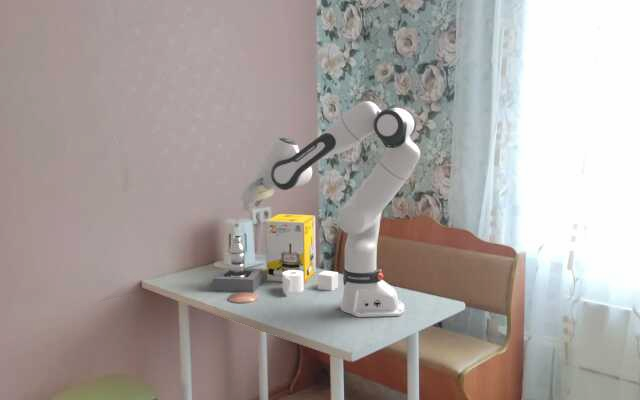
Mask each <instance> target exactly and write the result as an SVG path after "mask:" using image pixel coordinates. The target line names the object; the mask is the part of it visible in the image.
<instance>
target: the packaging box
mask: <svg viewBox="0 0 640 400" xmlns="http://www.w3.org/2000/svg"><path fill="white" fill-rule="evenodd" d="M265 249H266V250H265V252H266V254H265V255H266V257H265V258H266V281H268V282H282V273H283V272H284V271H288V270H299V271H302V272H303V282H304V284H305V283H306V282H308V281H309V279H310V278H312V276H314V274H316V272H317V268H316V267H317V266H316V263H317V262H316V259H317V257H316V252H317V251H316V215H311V214H293V213H292V214H289V213H278V214H276V215H275V216H273V217H270V218H269V219H267V220H265Z"/></svg>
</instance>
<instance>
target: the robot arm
mask: <svg viewBox="0 0 640 400" xmlns="http://www.w3.org/2000/svg"><path fill="white" fill-rule="evenodd" d="M416 121H417V120H416V119H415V117H414V114H412V112H410V111H408V110H407V109H403V108H400V107H390V108H389V107H388V108H385V109H383V110H381V109H380V107H379V106H377V104H376V103H374V102H372V101H368V100H365V101H361V102H360V103H358V104H357V105H355V106H353V107H351V108H350V109H348V110H347V111H346V112H345V113H343V114H342V115H340V117H339V118H337V119H336V120H335V121H333V122H332V124H331V125H329V126H328V128H326V129H325V130H324V131H323V132H322V133H321V134H320V135H319V136H318V137H317V138H315V139H314V140H312V142H310V143H309V144H308V145H306V146H305V147H304V148H302V149H301V150H300V149H299V145H298V144H297V142H295V141H294V140H291V139H290V138H286V137H285V138H284V137H279V138H277V139H276V140H275V141H274V142H273V144H272V145H271V146H270V148H269V149H268V151H267V153H266V156H265V159H264V161H263V162H261V164H260V166H259V167H258V169H257V171H256V172H255V174H254V176H255V180H251V182H249V183H248V184H247V186H246V188H245V189H244V190H243V192H242V194H241V195H240V200H242V201H243V205H242V207H241V209H242V210H243V211H244V212H246V211H248V210H249V208H250V205H251V203H254V204H253V205H254V207H256V208H259V207H260V206H261V205H262V203H263V202H264V201H265V200H266V199H268V198H271V197H273V196H274V194H275V193H276V191H277V190H278V189H279V190H283V191H287V190H290V189H294V188H295V187H297V188H298V187H300V186H305V185H306V184H308V183H309V182H310V181H311V180H312V178H313V173H314V172H313V165H315V164H316V163H317V162H319V161H321V160H322V159H324V158H326V157H328V156H332V155H335V154H338V153H339V154H340V153H344V152H346V151H347V152H348V150H350V149H353V148H355V147H356V146H357V145H359V144H360V143H362V142H363V141H364V140H366V139H367V138H368V137H369V136H371V135H372V134H376V136H377V137H378V139H379V140H380V141H381V142H382V144H383V145H384V146H385V147H386V151H385V153H384V154H383V156H382V157H381V158H380V160H379V161H378V163H377V164H376V165H375V167H374V168H373V170H371V172H370V173H369V175H368V176H367V178H366V179H365V180H364V182H363V183H362V184H361V185H359V187H358V188H357V189H356V190H355V192H354V193H353V194H352V195H351V196H350V198H349V199H348V200H347V201H346V203H345V204H344V205H343V206H342V208H341V209H340V211H339V213H338V214H337V224H338V225H339V226H338V227H339V228H340V229H341V230H342V231H343V232H344V233H346V234H347V239H346V242H345V244H344V268H343V272H342V281H343V292H342V293H343V294H342V298H341V303H340V306H339V308H340V310H341V311H342V312H345V313H347V314H350V315H353V316H354V317H356V318H373V317H374V318H376V317H399V316H402V315H403V314H404V313H405V304H404V303H403V302H402V301H401V300H399V296H398V295H399V294H398V292H397V290H396V289H395V288H394V287H393V286H392V285H390V284H389V283H388V282H386V281H385V280H383V279H384V274H383V271H382V269H381V268H377V257H378V256H377V255H378V254H377V252H378V251H377V250H378V249H377V248H378V240H379V233H380V228H381V227H380V226H381V218H382V214H383V210H384V209H385V208H386V207H387V205H389V203H390V202H392V200H393V199H394V198H395V196H396V195H397V194H398V193H399V191H400V190H401V189H402V188H403V186H404V184H405V183H406V182H407V180H408V179H409V178H410V176H411V174H412V173H413V171H414V169H415V167H416V166H417V164H418V162H419V160H420V158H421V150H420V148H419V147H418V145H417V144H416V143H415V142H413V141H412V140H411V136H413V134H414V132H415V130H416V125H417V122H416Z"/></svg>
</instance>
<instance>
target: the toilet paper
mask: <svg viewBox="0 0 640 400" xmlns="http://www.w3.org/2000/svg"><path fill="white" fill-rule="evenodd" d="M281 284H282V292H283V294H284V295H285V296H286V297H288V295H289V294H298V293H302V292H304V287H305V286H304V284H305V283H304V282H303V272H302V271H299V270H288V271H284V272H283V273H282V283H281Z"/></svg>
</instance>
